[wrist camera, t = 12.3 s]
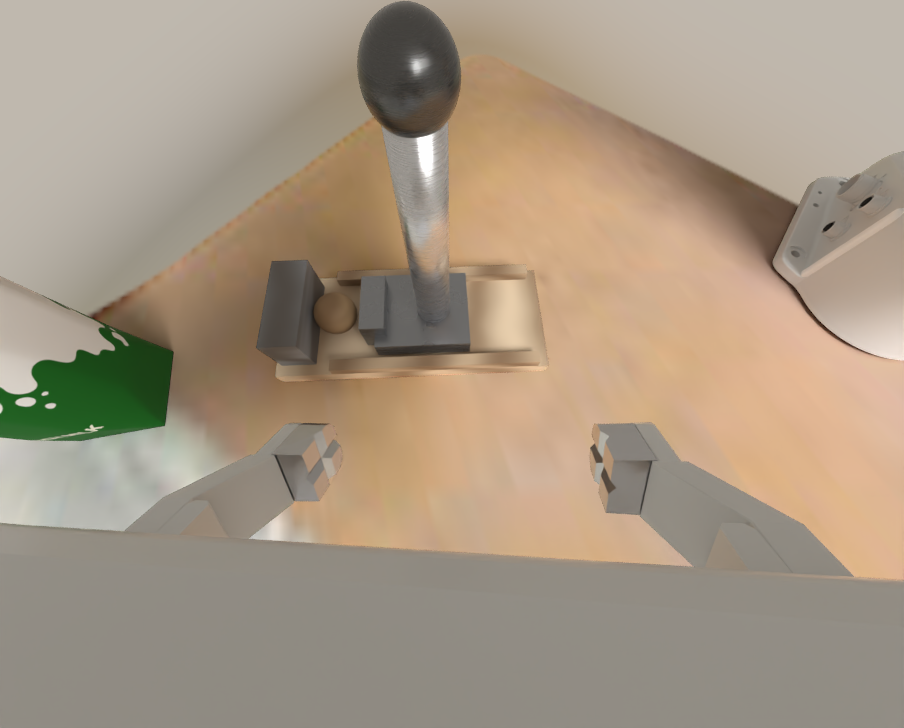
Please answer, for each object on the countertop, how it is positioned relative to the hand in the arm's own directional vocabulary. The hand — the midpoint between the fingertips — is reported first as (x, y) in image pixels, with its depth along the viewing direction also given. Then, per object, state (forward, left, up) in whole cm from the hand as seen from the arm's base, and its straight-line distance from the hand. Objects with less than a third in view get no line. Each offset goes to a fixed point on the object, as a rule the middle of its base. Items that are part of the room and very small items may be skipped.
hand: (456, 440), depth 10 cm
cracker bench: (-10, -9, -18) cm, 22 cm away
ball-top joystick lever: (-10, -8, -16) cm, 21 cm away
